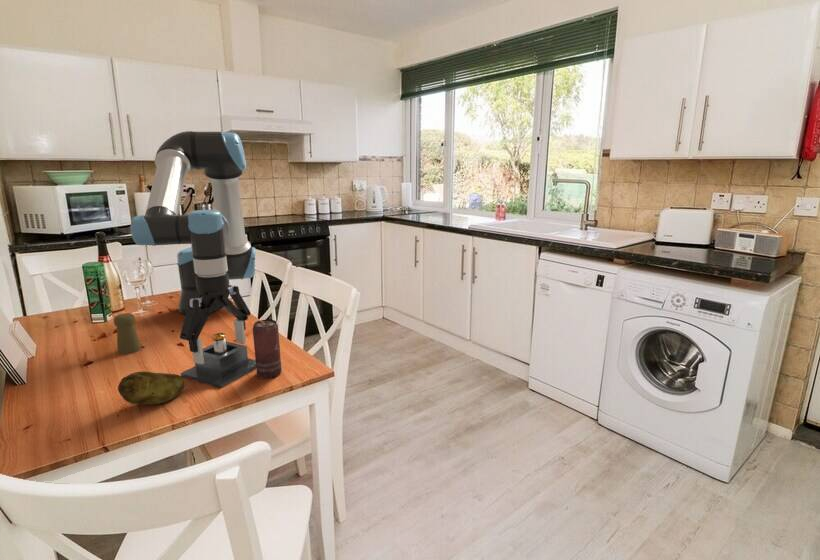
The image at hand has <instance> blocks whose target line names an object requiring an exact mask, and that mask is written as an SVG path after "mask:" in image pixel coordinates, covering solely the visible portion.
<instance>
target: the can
mask: <svg viewBox="0 0 820 560" xmlns="http://www.w3.org/2000/svg"><path fill="white" fill-rule="evenodd" d="M252 335H253V337H252V338H253V346H254V348H253V349H254V357H255V358H254V360H256V369H255V371H256V375H257V376H258V377H259V378H260V377H262V378H261V379H272V378H271V377H273V378H276V377H278V376H279V375H280V374H281V372H282V361H281V360H282V358H281V348H280V347H281V345H280V344H281V343H280V332H279V324H278V322H277V321H276V320H274V319H261V320H260V319H259V320H257V321H256V322H254V323H253V326H252ZM277 375H278V376H277ZM275 376H276V377H275Z"/></svg>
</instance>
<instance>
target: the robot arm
mask: <svg viewBox="0 0 820 560" xmlns="http://www.w3.org/2000/svg"><path fill="white" fill-rule="evenodd" d="M154 165H155V167H156V170H155V174H154V178H153V181H152V186H151V190H150V194H149V198H148V200H147V201H148V202H147V206H146V209H145V213H144V215H143V214H141V215H136V216H133V217H132V218H131V220H130V225H129V226H130V235H131V237H132V241H133V242H134V243H135V244H136V245H138V246H152V247H156V246H171V245H191V247H187V248H184V249H181V250H180V251H179V252H178V253H177V256H176V257H177V267H178V268H177V269H178V273H179V276H178V277H179V281H180V288H181V292H180V295H179V296H180V297H179V303H178V305H177V307H178V312H179V313H180V314H183V315H184V320H183V323H182V327H181V331H180V334H179V339H181V340H184V341H188V346H189V351H190V353H192V357H193V359H192V360H193V363H194V364H195V363H198V364H204V357H203V350H202V349H203V343H202V338H200V335H201V333H202V331H203V328H204V327H205V324H206V322H207V320H208V319H209V317H210V316H211V315H212V313H215V312H218V311H219V310H222V309H224V308H225V310H227V311H228V312H229V313H230V314H231V315H232V316H233V317H235V319H233V324H234V325H233V326H234V334H235V335H234V336H235V343H236V344H240V345H245V344H246V336H245V335H246V334H245V331H246V328H247V327H246V321H248V320H249V316H250V315H251V311H250V309H249V307H248V305H247V303H246V302H245V301H244V298H243V297H242V295H241V293H240V289H239V286H237V285H231V284H230V280H244V279H251V278H253V277H254V276H255V272H256V270H255V268H256V247H254V246H252V244H251V242H250V241H249V240H248V239H247V238H246V230H245V222H244V214H243V208H242V207H243V206H242V205H243V203H242V198H241V190H240V181H239V179H240V178H241V177H242V176H243V171H244V170H247V161H246V155H245V150H244V147H243V142H242V140H241V138H240V135H238V134H237V133H236V132H226V131H191V130H186V131H182V132H178V133H176V134H174V135H172V136H171V137H169V138H167V139H166V140H165V141H163V143H162V144H161V145H160V146H159V148H158V149H157V151H156V153H155V157H154ZM191 170H202V171H204V176H205V178H207V179H209V180H210V183H211V189H212V195H213V203H214V209H198V210H197V209H196V210H192V211H190V212H189V213H188V214H179V213H180V207H181V201H182V196H183V191H184V185H185V179H186V175H188V174H189V172H190V171H191ZM229 296H230V298H231V300H232V301H233V302H232V301H231V300H230V298H229Z"/></svg>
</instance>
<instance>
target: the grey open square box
mask: <svg viewBox="0 0 820 560" xmlns="http://www.w3.org/2000/svg"><path fill="white" fill-rule="evenodd" d="M226 346H227V353H225V354H223V355H221V356H218V355H215V352H214V344H213V343H212V344H211V345H208V346H207V347H204V348H203V347H202V350H203V357H204V364H198V363H195V362H194V366H195V367H196V371H199V372H202V373H206V374H210V375H213V376H217V377H220V378H222V377H224V376H226V375H228V374H230V373H231V372H233V371H235V370H237V369H239V368H241V367H243V366H245V365H247V364H248V358H249V357H248V356H249V355H248V347H247V345H245V344H240V343H236V342H235V343H234V342H229V341H226Z"/></svg>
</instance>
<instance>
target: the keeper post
mask: <svg viewBox="0 0 820 560" xmlns="http://www.w3.org/2000/svg"><path fill="white" fill-rule="evenodd" d="M212 342H213V343H212V345H213V344H214V352H215V355H218V356H221V355H223V354H225V353H227V346H226V342H227V339H226V333H224V332H217V333H214V334H213V335H212ZM254 369H255V370H256V359H252V358H249V357H248V364H247V365H245V366H243V367H241V368H239V369H237V370H235V371H233V372H231V373H230V374H228V375H226V376H224V377H222V378H220V377H217V376H213V375H210V374H206V373H202V372H199V371H196V367H195V365H194V366H192V367H190V368H188V369H186V370H185V371H182V372H180V376H181V377H182V378H183V379H184V378H185V379H188V380H192V381H194V382H199V383H203V384H205V385H209V386H212V387H216V388H219V389H222V388H224V387H226V386H228V385H229V384H232V383H233V382H235V381H237V380H239V379H240V378H243V377H244V376H246V375H247V373H248V374H249V373H251V372H252V371H254ZM245 374H246V375H245Z"/></svg>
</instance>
